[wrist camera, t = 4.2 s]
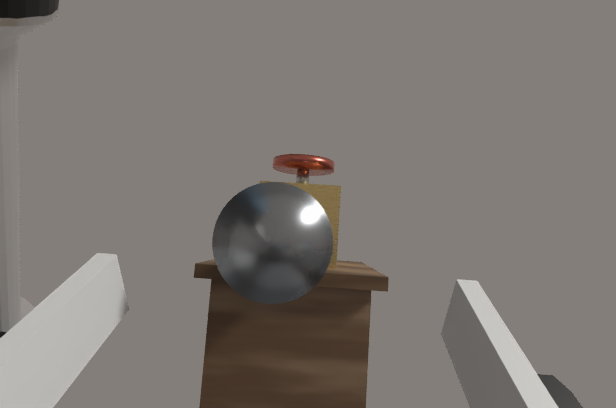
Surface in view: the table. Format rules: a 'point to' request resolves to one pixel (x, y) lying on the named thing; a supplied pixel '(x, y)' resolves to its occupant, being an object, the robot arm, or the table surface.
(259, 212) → the valve pipe
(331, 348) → the stand
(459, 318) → the robot arm
